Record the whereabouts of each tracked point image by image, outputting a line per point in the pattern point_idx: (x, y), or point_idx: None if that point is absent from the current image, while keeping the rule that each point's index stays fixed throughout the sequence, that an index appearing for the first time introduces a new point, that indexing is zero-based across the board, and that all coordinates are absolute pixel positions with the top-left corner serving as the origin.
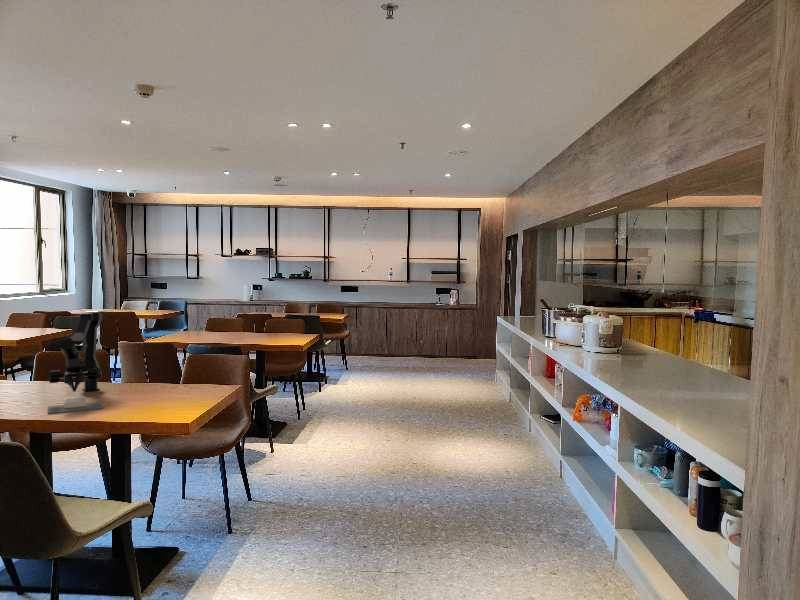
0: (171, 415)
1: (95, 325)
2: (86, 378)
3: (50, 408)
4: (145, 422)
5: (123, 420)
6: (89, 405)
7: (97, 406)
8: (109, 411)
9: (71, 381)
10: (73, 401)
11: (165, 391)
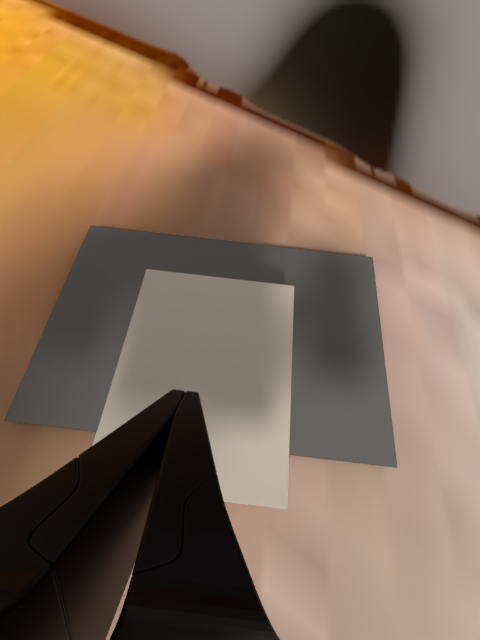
0: None
1: None
2: None
3: (369, 369)
4: (77, 24)
5: (117, 60)
6: (125, 320)
7: (98, 266)
8: (88, 182)
9: (190, 521)
10: (230, 286)
11: None
